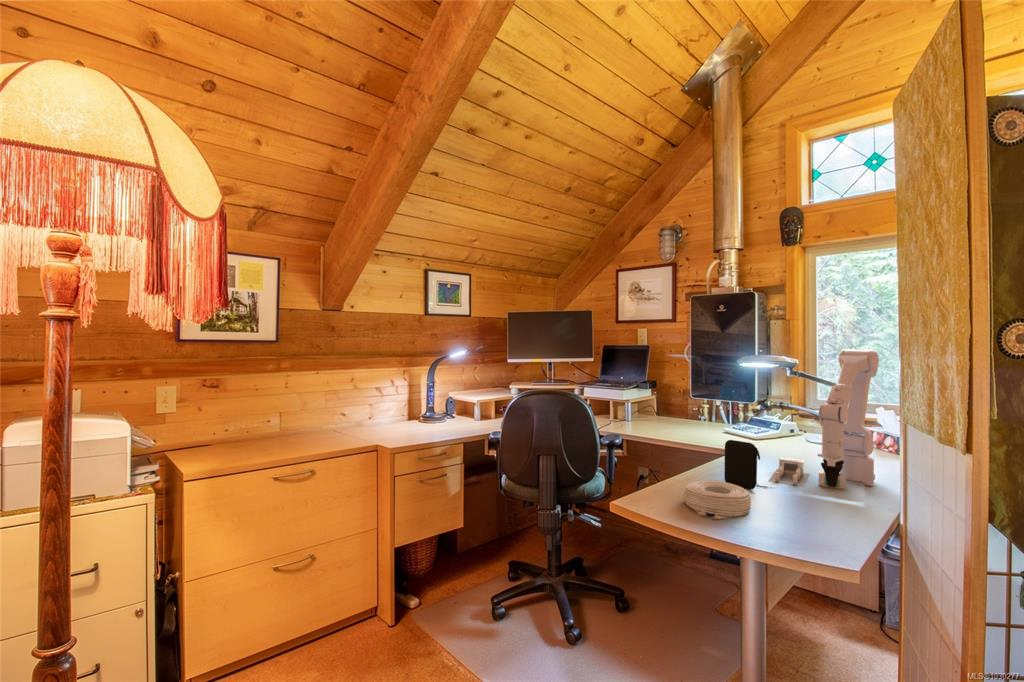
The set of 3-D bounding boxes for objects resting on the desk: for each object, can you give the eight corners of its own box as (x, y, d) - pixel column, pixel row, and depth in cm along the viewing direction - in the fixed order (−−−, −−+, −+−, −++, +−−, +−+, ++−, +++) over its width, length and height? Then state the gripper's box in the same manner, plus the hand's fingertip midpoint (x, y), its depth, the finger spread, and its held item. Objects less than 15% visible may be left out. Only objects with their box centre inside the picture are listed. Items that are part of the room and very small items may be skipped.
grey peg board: (810, 476, 166) (810, 465, 166) (803, 490, 150) (804, 477, 150) (777, 471, 172) (777, 460, 172) (768, 484, 156) (768, 472, 156)
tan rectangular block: (804, 474, 165) (804, 460, 165) (802, 477, 161) (803, 462, 161) (780, 471, 169) (781, 456, 169) (779, 473, 165) (779, 459, 165)
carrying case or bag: (761, 490, 150) (762, 443, 150) (757, 493, 147) (758, 445, 147) (726, 483, 157) (727, 438, 157) (722, 485, 155) (723, 439, 155)
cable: (710, 522, 124) (710, 499, 124) (670, 500, 141) (670, 479, 141) (765, 516, 128) (766, 494, 128) (720, 495, 145) (721, 475, 145)
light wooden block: (845, 490, 152) (846, 474, 152) (845, 493, 148) (845, 477, 148) (819, 485, 156) (819, 470, 156) (818, 488, 153) (818, 473, 153)
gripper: (819, 436, 160) (819, 477, 160) (815, 443, 149) (815, 487, 149) (845, 439, 156) (845, 480, 156) (843, 446, 145) (842, 492, 145)
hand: (832, 484), depth 152 cm, fingers open, 5 cm apart
